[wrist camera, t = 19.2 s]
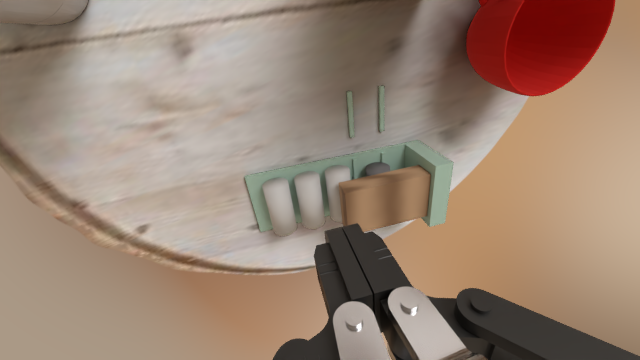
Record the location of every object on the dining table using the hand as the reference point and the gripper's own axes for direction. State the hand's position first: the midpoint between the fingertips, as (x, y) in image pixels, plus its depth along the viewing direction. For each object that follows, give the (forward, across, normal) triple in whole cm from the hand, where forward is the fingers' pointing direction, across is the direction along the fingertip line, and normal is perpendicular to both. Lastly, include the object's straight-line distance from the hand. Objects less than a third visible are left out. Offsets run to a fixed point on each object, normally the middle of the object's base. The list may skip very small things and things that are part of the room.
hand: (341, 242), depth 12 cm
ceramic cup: (+27, -28, -6) cm, 39 cm away
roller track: (+27, -7, +14) cm, 31 cm away
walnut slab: (+22, -11, +14) cm, 29 cm away
